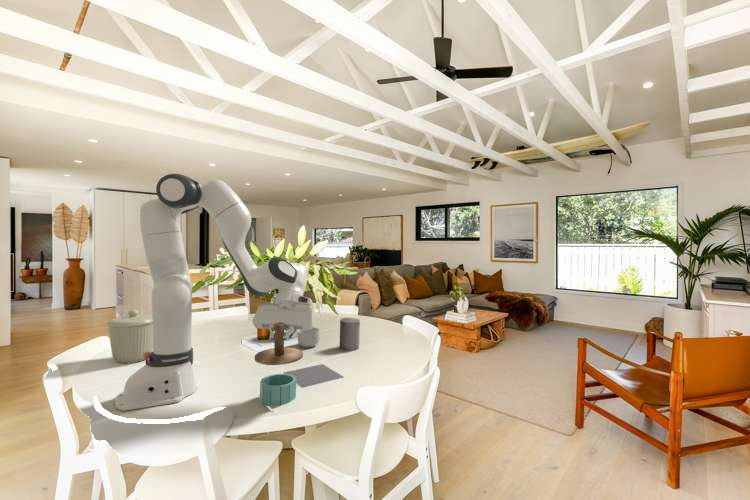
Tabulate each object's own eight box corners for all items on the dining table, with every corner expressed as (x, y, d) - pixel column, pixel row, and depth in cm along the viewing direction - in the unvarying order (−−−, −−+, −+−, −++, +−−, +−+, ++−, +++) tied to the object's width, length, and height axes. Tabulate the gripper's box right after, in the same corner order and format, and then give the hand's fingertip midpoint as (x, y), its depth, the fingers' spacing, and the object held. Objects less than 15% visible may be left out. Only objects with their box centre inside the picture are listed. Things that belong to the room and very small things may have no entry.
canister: (152, 364, 143) (152, 312, 143) (98, 369, 137) (98, 314, 136) (162, 351, 160) (162, 305, 160) (115, 354, 154) (115, 306, 153)
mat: (302, 388, 121) (302, 387, 121) (283, 373, 135) (283, 372, 135) (344, 378, 132) (344, 377, 132) (322, 365, 145) (322, 364, 145)
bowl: (267, 409, 106) (267, 389, 106) (255, 396, 115) (255, 378, 115) (301, 400, 113) (301, 381, 113) (287, 388, 122) (287, 371, 121)
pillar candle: (335, 346, 171) (336, 316, 171) (352, 343, 177) (352, 314, 177) (346, 352, 164) (347, 320, 163) (363, 348, 170) (364, 317, 169)
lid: (252, 366, 105) (252, 330, 104) (256, 351, 119) (257, 319, 119) (303, 363, 108) (304, 328, 108) (302, 348, 123) (302, 317, 122)
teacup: (314, 349, 166) (314, 333, 166) (293, 348, 168) (293, 331, 168) (324, 341, 180) (324, 326, 180) (304, 340, 182) (304, 324, 182)
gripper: (256, 297, 121) (244, 333, 111) (315, 299, 119) (307, 335, 110) (262, 308, 126) (250, 343, 116) (318, 309, 124) (311, 345, 114)
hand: (278, 339), depth 113 cm, fingers closed on lid, 3 cm apart
